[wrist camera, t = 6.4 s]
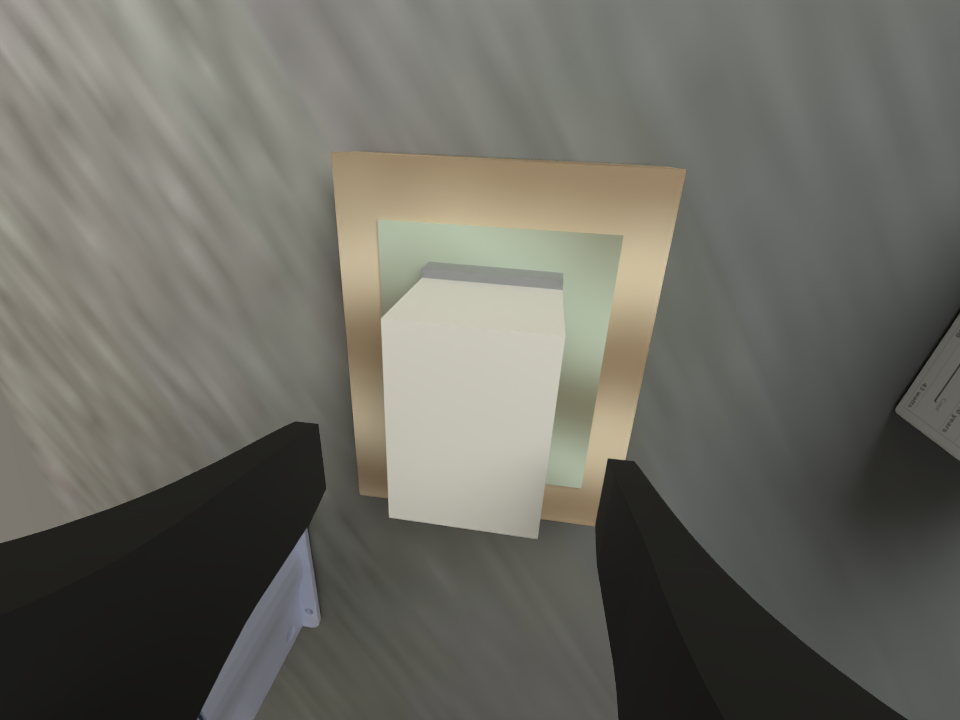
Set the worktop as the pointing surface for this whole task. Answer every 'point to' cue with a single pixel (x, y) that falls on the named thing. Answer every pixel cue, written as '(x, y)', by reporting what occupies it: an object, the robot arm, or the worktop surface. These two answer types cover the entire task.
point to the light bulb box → (937, 395)
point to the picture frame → (517, 245)
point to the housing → (472, 396)
